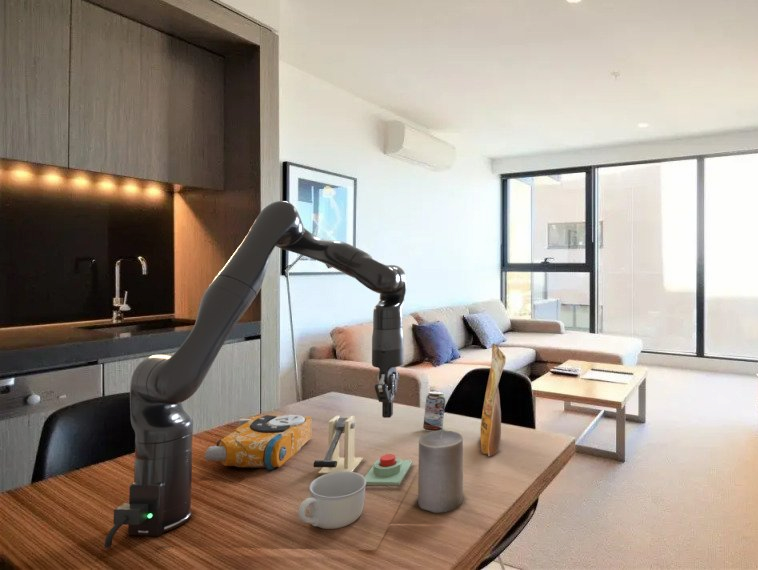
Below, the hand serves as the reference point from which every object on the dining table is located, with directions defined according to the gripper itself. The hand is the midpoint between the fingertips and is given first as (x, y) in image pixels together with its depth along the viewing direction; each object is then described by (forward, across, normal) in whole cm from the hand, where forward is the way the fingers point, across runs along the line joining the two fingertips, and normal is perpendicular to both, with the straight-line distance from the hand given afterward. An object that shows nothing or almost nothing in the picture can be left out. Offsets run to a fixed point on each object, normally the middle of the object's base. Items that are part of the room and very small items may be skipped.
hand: (387, 416), depth 111 cm
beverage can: (+15, -31, +6) cm, 35 cm away
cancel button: (+11, +1, 0) cm, 11 cm away
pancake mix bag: (+15, -20, +24) cm, 35 cm away
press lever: (+7, 0, -13) cm, 15 cm away
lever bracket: (+14, -4, -13) cm, 20 cm away
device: (+15, -14, -39) cm, 44 cm away
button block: (+14, +1, 0) cm, 15 cm away
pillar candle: (+15, +12, +15) cm, 24 cm away
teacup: (+14, +22, -5) cm, 26 cm away
